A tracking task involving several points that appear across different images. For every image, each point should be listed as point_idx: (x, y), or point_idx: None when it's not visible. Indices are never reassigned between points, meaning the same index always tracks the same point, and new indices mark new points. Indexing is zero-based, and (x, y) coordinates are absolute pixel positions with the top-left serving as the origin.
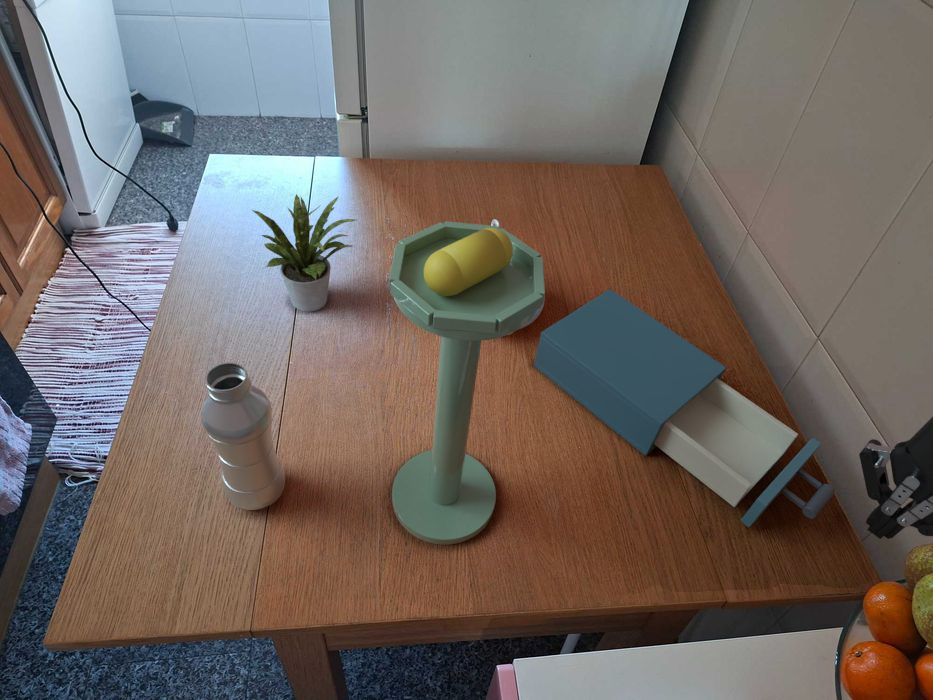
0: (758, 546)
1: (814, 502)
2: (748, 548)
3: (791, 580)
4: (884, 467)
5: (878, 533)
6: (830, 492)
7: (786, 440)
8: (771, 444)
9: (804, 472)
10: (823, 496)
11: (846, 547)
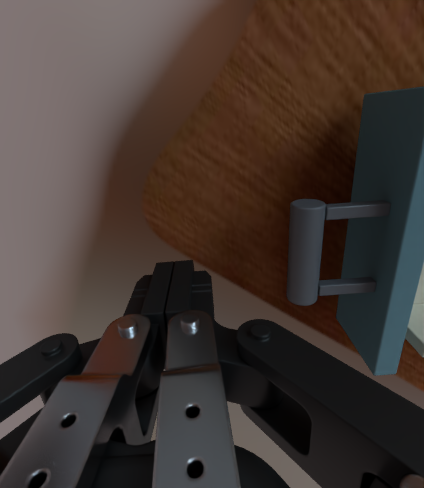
0: (317, 88)
1: (317, 233)
2: (332, 61)
3: (227, 76)
4: (322, 477)
5: (167, 267)
6: (299, 289)
7: (421, 328)
8: (416, 305)
9: (364, 289)
10: (308, 266)
11: (196, 242)
